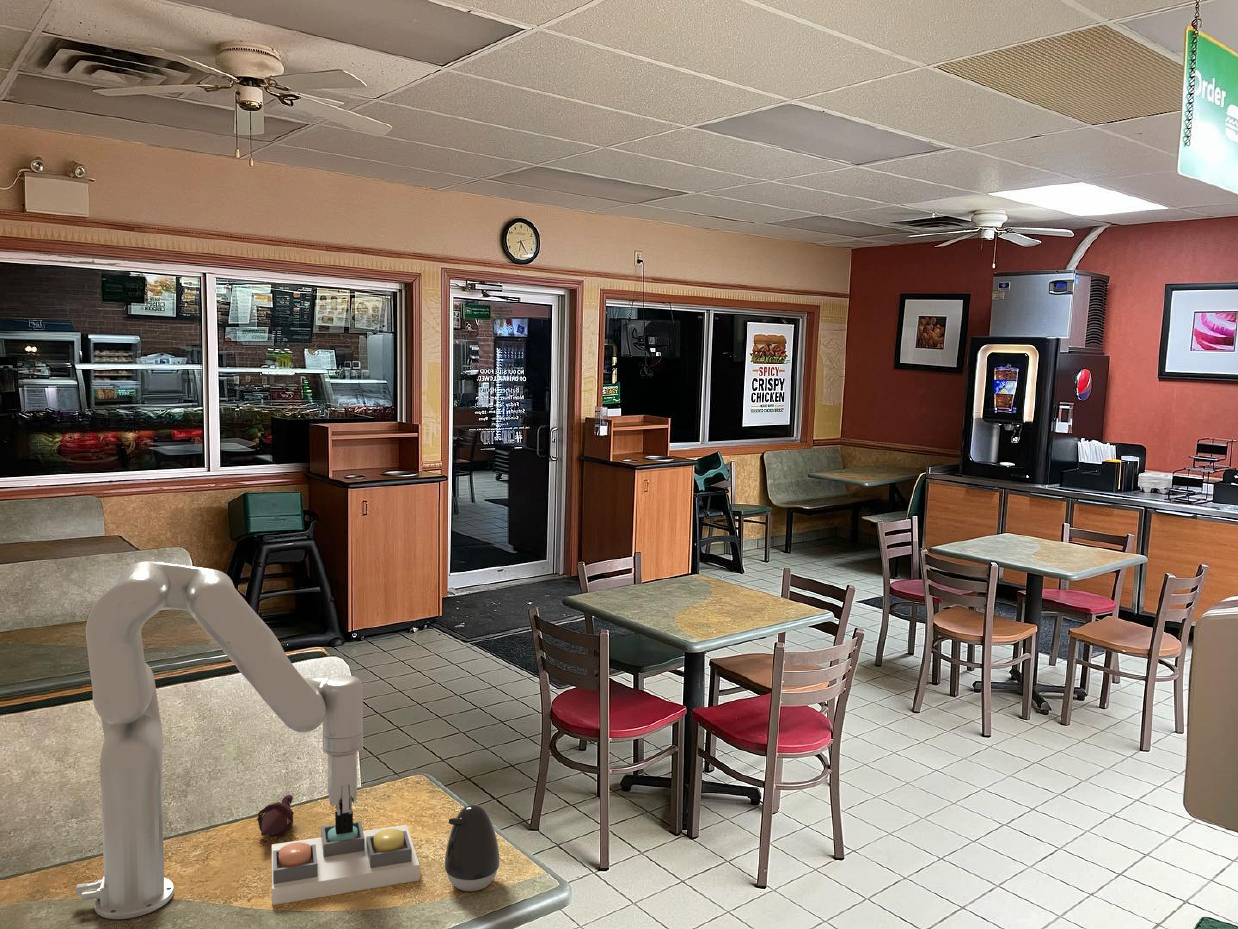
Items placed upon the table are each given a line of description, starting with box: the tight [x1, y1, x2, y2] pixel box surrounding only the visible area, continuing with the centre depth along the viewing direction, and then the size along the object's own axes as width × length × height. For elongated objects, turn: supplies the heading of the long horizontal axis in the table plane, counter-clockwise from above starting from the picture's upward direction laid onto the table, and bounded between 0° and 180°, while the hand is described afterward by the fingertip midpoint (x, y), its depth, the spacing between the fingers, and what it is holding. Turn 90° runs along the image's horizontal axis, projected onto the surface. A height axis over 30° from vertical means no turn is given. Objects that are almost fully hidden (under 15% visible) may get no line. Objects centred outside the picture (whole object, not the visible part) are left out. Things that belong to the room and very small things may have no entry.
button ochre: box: [374, 829, 404, 853], centre depth 176 cm, size 6×6×2 cm
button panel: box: [271, 820, 420, 906], centre depth 176 cm, size 26×17×6 cm, turn 111°
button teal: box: [328, 826, 357, 842], centre depth 180 cm, size 6×6×2 cm
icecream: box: [256, 794, 295, 838], centre depth 189 cm, size 7×7×15 cm
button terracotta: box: [279, 843, 311, 868], centre depth 170 cm, size 6×6×2 cm
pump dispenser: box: [444, 803, 501, 892], centre depth 171 cm, size 10×10×15 cm
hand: (344, 831), depth 180 cm, fingers closed
